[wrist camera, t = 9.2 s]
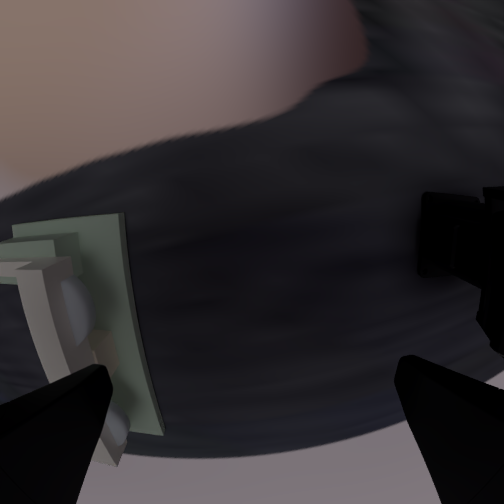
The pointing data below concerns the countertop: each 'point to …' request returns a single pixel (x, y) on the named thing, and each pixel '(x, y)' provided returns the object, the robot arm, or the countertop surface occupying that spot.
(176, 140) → the countertop surface
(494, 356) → the countertop surface
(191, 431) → the countertop surface
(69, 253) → the stand
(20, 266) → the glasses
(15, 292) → the countertop surface
